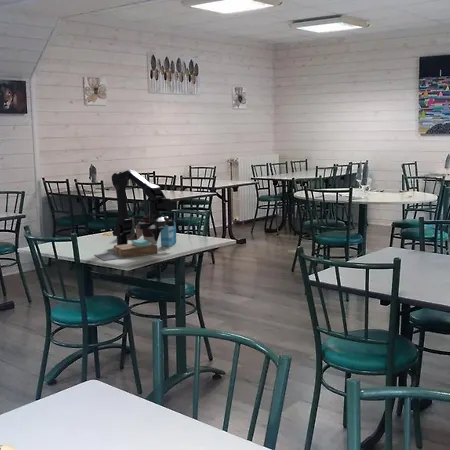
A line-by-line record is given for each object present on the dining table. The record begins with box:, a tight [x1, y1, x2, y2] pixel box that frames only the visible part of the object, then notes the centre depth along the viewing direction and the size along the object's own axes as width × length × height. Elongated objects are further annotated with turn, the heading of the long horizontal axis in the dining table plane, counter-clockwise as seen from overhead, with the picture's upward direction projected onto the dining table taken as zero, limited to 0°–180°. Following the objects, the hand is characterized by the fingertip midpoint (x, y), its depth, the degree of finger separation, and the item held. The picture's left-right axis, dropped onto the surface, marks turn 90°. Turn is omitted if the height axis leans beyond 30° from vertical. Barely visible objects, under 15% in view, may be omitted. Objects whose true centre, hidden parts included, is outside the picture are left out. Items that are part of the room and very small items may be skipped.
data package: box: [160, 221, 177, 248], centre depth 324 cm, size 12×4×12 cm, turn 165°
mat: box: [94, 251, 125, 262], centre depth 298 cm, size 16×10×1 cm, turn 29°
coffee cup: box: [140, 215, 158, 245], centre depth 330 cm, size 10×10×15 cm
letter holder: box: [127, 217, 143, 241], centre depth 353 cm, size 10×20×14 cm, turn 178°
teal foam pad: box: [131, 238, 150, 247], centre depth 305 cm, size 9×6×2 cm, turn 29°
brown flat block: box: [113, 242, 159, 259], centre depth 304 cm, size 14×18×4 cm
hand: (156, 241), depth 309 cm, fingers closed
